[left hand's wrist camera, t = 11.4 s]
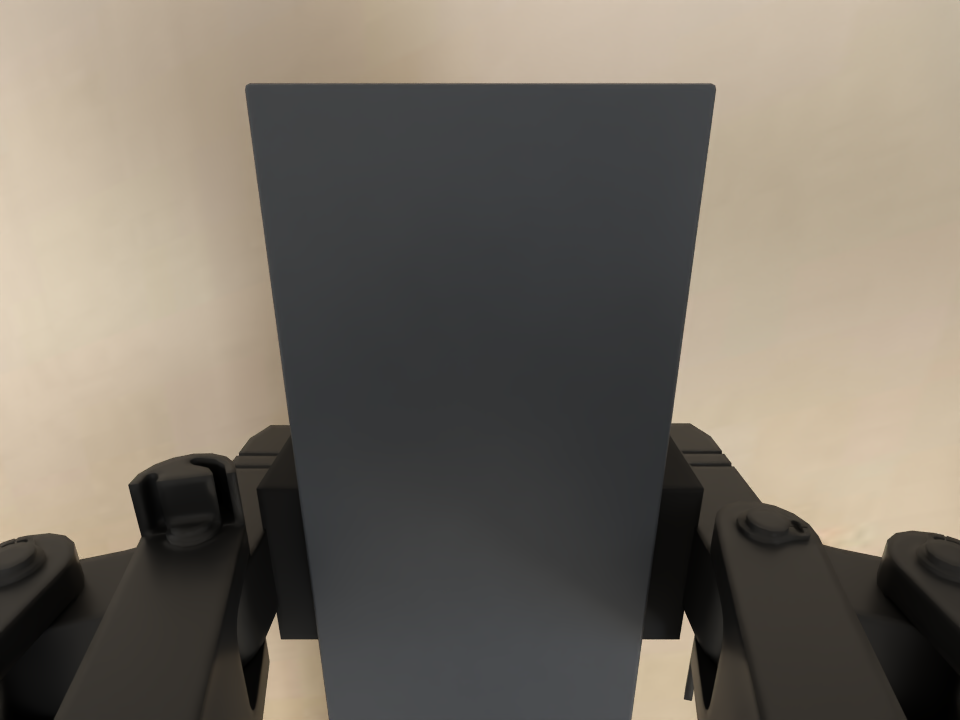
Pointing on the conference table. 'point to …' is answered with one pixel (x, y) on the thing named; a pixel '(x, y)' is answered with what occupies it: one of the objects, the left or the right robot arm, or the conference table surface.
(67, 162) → the conference table surface
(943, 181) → the conference table surface
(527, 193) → the beam
